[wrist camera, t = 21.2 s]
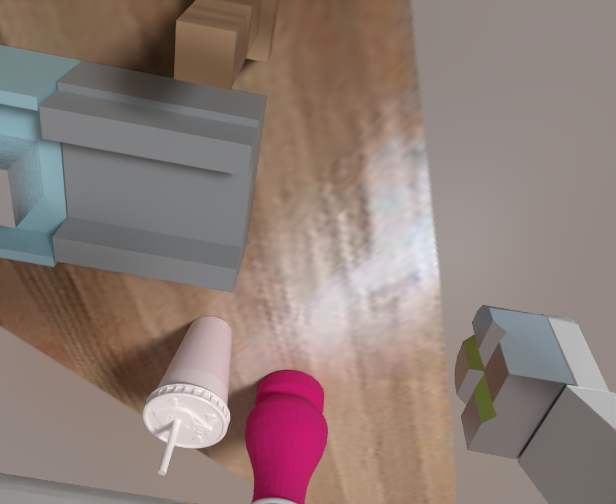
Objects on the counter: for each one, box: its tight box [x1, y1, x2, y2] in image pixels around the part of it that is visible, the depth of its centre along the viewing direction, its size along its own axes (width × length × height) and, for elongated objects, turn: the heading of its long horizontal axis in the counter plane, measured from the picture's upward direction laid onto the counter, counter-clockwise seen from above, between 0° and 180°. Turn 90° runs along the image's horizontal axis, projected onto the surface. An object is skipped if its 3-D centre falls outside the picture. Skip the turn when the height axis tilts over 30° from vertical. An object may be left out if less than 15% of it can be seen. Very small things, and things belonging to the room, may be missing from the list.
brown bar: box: [174, 0, 280, 90], centre depth 30 cm, size 6×4×12 cm
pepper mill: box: [245, 370, 328, 504], centre depth 46 cm, size 7×7×20 cm
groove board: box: [39, 61, 267, 292], centre depth 39 cm, size 12×12×6 cm
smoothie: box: [143, 316, 232, 475], centre depth 45 cm, size 6×6×14 cm
